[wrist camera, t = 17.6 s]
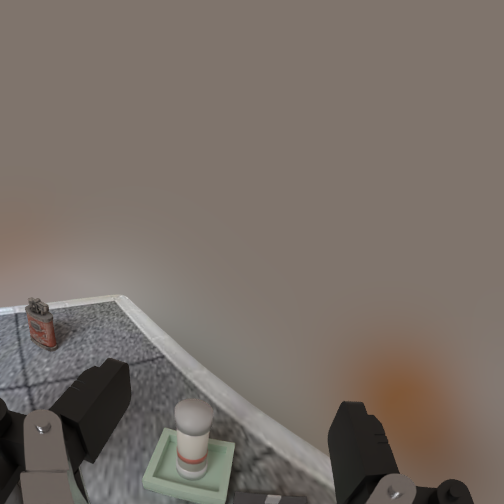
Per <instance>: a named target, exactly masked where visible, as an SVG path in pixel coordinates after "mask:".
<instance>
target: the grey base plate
mask: <svg viewBox="0 0 504 504" xmlns="http://www.w3.org/2000/svg"><path fill="white" fill-rule="evenodd" d="M233 504H307V497H299V496H281V495H265V494H255V493H246V492H239V491H235V494H234V501H233Z"/></svg>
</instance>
